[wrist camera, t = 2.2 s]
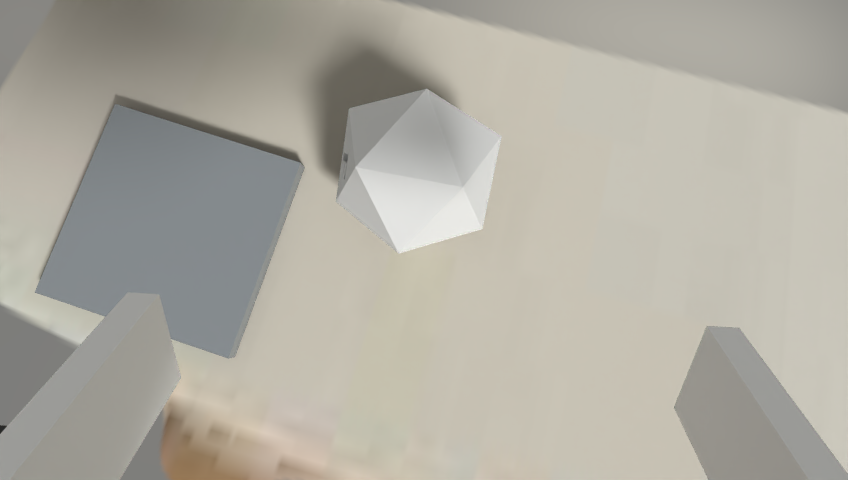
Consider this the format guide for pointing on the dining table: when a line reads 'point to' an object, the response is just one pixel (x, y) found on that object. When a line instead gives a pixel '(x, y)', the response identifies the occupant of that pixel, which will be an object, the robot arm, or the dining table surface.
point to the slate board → (173, 227)
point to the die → (416, 169)
